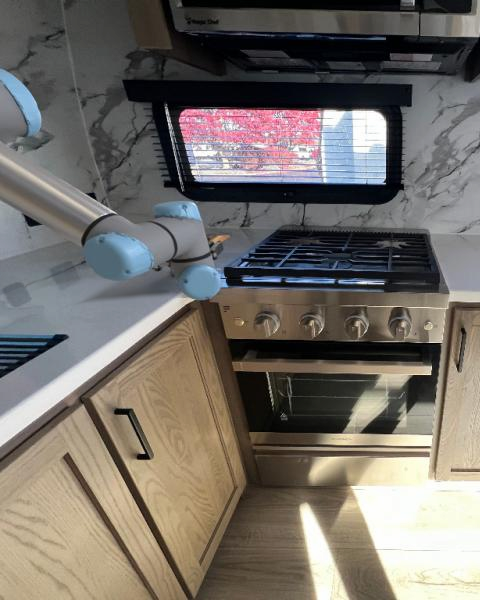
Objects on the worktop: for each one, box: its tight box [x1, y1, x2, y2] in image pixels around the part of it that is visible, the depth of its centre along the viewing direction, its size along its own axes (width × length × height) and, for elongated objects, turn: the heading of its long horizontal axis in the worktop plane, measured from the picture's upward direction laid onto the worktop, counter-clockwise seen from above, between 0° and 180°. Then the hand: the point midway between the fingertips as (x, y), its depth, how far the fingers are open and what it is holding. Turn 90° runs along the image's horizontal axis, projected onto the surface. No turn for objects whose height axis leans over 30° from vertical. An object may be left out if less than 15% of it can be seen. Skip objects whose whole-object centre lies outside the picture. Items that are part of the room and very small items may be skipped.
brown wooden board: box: [206, 233, 231, 243], centre depth 114 cm, size 14×28×2 cm, turn 3°
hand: (177, 246), depth 93 cm, fingers open, 13 cm apart
